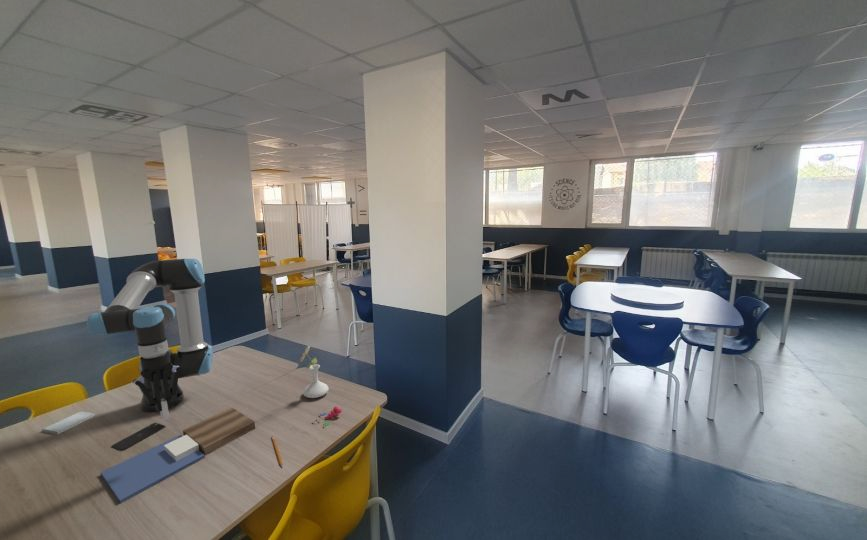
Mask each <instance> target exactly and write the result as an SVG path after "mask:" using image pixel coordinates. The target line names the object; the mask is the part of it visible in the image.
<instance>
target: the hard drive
mask: <svg viewBox="0 0 867 540" xmlns="http://www.w3.org/2000/svg"><path fill="white" fill-rule="evenodd" d="M94 416H96V415H95V413H93V412H86V411H78V412H77V413H74V414H72V415H70V416H68V417H65V418H63V419H61V420H59V421H57V422H55V423H53V424H50V425H48V426H46V427H44V428H42V430H41V432H42V433H48V434H55V435H59V434H60V433H63V432H65V431H67V430H69V429H71V428H72V427H73V428H74V427H75V426H77V425H79V424H80V423H83V422H85V421H86V420H88V419H91V418H93V417H94Z"/></svg>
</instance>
